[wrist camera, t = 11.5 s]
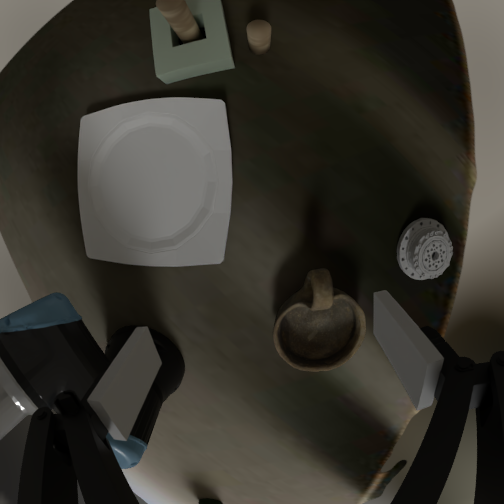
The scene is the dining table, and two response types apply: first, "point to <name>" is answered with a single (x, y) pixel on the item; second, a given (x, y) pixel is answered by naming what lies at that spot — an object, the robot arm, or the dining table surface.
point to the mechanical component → (424, 249)
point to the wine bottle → (209, 501)
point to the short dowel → (259, 36)
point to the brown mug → (319, 325)
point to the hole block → (191, 44)
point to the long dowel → (180, 19)
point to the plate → (156, 182)
